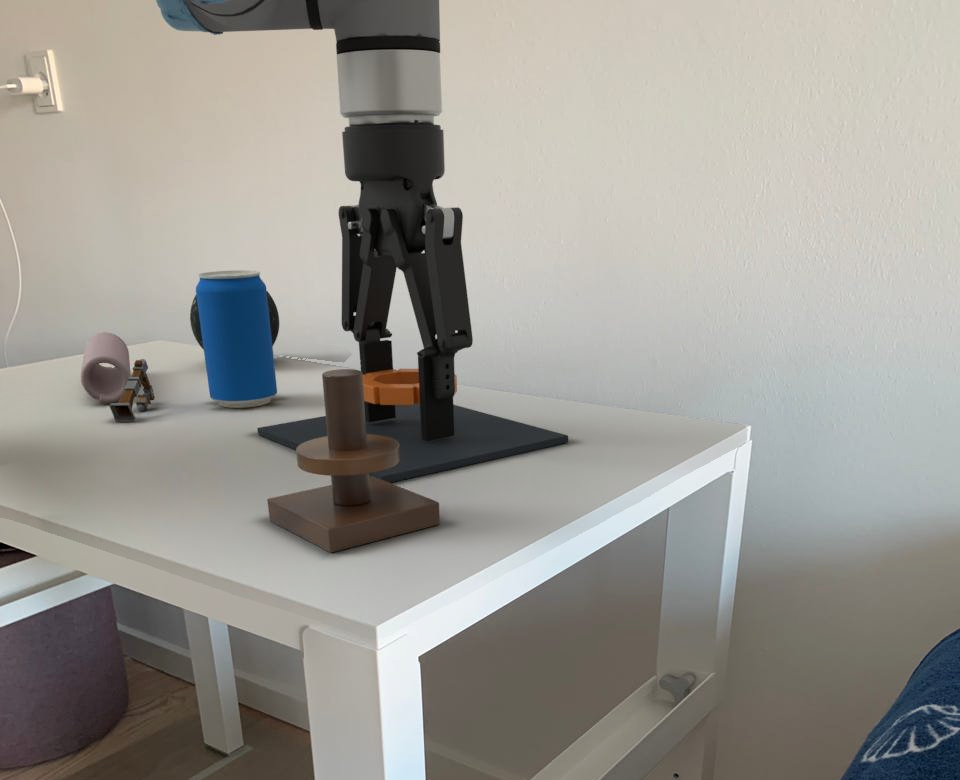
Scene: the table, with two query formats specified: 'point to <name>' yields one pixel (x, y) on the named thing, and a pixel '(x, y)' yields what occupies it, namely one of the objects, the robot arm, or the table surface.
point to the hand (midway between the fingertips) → (408, 427)
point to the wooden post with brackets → (134, 393)
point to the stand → (350, 479)
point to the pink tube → (100, 379)
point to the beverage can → (236, 338)
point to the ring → (393, 387)
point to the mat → (469, 445)
